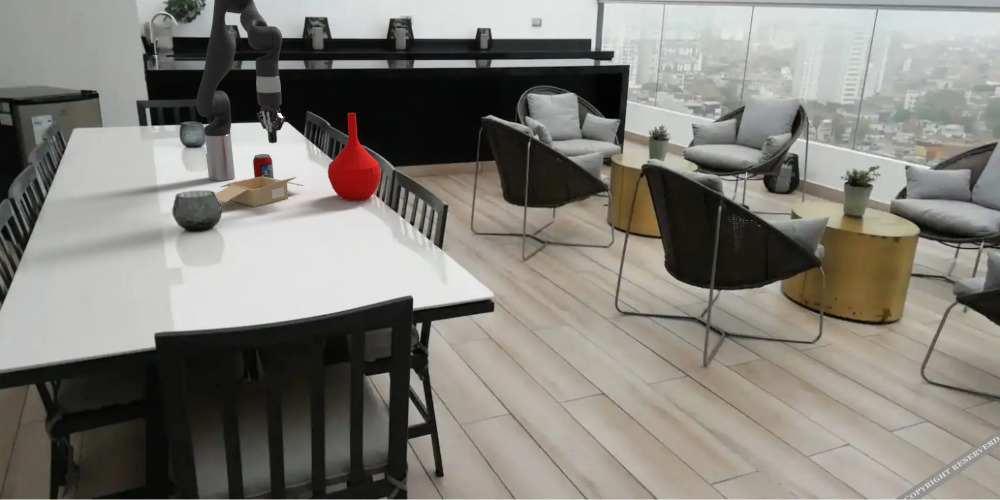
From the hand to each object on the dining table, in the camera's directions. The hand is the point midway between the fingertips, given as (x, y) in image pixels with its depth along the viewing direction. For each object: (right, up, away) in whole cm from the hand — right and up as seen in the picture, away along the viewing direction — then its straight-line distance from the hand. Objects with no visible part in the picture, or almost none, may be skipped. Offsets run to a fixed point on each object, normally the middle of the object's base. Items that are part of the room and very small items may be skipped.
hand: (272, 142), depth 246 cm
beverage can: (-12, -13, +28) cm, 33 cm away
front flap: (+1, -13, +3) cm, 13 cm away
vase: (+24, -17, +17) cm, 34 cm away
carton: (-9, -16, +17) cm, 26 cm away
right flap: (-15, -17, +1) cm, 23 cm away
